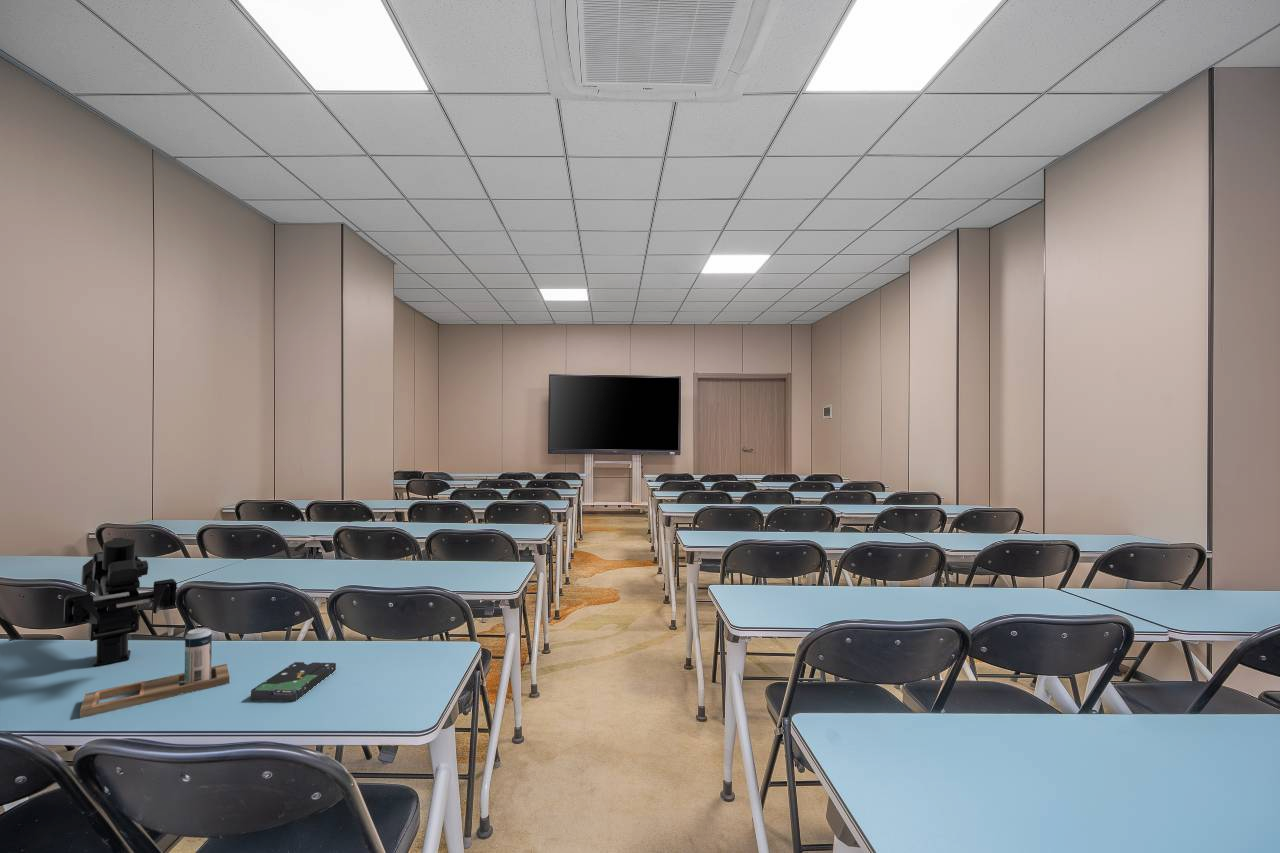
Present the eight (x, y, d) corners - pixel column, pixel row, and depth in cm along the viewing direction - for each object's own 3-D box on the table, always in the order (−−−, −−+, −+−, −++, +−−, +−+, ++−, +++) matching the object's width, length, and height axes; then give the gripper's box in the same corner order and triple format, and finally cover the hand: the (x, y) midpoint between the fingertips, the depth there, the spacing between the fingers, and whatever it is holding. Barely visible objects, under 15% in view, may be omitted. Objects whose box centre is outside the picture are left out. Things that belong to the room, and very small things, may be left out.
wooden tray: (85, 701, 116) (85, 693, 116) (226, 670, 132) (226, 663, 132) (79, 718, 109) (79, 710, 110) (229, 683, 125) (229, 676, 125)
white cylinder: (216, 679, 127) (217, 627, 127) (198, 688, 122) (198, 634, 122) (197, 678, 127) (198, 626, 128) (178, 687, 123) (179, 633, 123)
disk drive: (293, 673, 132) (249, 702, 117) (294, 661, 132) (249, 689, 117) (336, 673, 132) (297, 703, 117) (336, 662, 132) (297, 690, 117)
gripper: (63, 562, 123) (68, 591, 113) (172, 549, 137) (184, 574, 127) (62, 608, 124) (66, 641, 114) (169, 590, 138) (181, 618, 128)
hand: (127, 616), depth 121 cm, fingers open, 9 cm apart
